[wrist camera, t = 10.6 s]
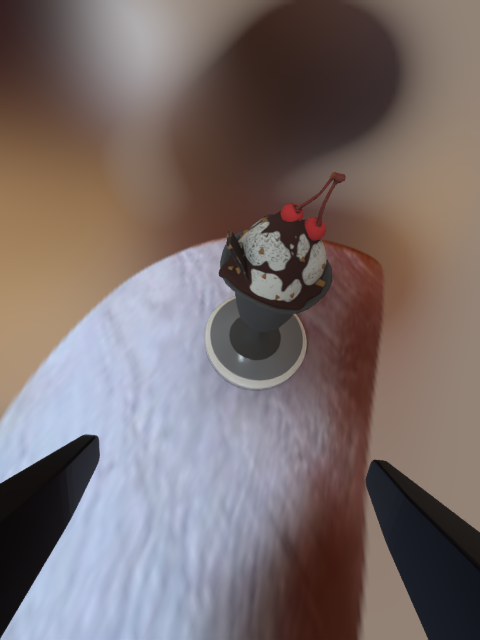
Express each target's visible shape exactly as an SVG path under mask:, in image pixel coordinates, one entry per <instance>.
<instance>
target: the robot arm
mask: <svg viewBox="0 0 480 640" xmlns="http://www.w3.org/2000/svg"><path fill="white" fill-rule="evenodd" d="M99 458H100V451H99V438H98V436H96V435H87V434H86V435H82V436H80V437H79V438H77V439H75V440H74V441H72V442H70V443H69V444H67V445H65V446H63V447H62V448H60V449H58V450H57V451H55V452H53V453H51V454H50V455H48V456H46V457H45V458H43V459H41V460H40V461H38V462H36V463H34V464H33V465H31V466H29V467H28V468H26V469H24V470H23V471H21V472H19V473H17V474H16V475H14V476H12V477H11V478H9V479H7V480H6V481H4V482H2V483H0V638H1V637H2V635H3V633H4V632H5V630H6V628H7V626H8V625H9V623H10V621H11V620H12V618H13V616H14V615H15V613H16V611H17V610H18V608H19V606H20V605H21V603H22V601H23V599H24V598H25V596H26V594H27V593H28V591H29V589H30V588H31V586H32V584H33V583H34V581H35V579H36V578H37V576H38V574H39V572H40V571H41V569H42V567H43V566H44V564H45V562H46V561H47V559H48V557H49V556H50V554H51V552H52V551H53V549H54V547H55V545H56V544H57V542H58V540H59V539H60V537H61V535H62V534H63V532H64V530H65V529H66V527H67V525H68V523H69V522H70V520H71V518H72V516H73V514H74V512H75V510H76V508H77V506H78V504H79V502H80V500H81V498H82V496H83V494H84V491H85V489H86V487H87V485H88V483H89V481H90V479H91V477H92V475H93V473H94V471H95V469H96V467H97V464H98V462H99ZM366 486H367V490H368V493H369V495H370V498H371V501H372V504H373V507H374V510H375V512H376V515H377V518H378V521H379V524H380V527H381V530H382V532H383V535H384V538H385V541H386V543H387V545H388V548H389V551H390V553H391V555H392V557H393V560H394V562H395V564H396V567H397V569H398V571H399V573H400V576H401V578H402V580H403V582H404V585H405V587H406V589H407V592H408V594H409V596H410V598H411V601H412V603H413V605H414V608H415V610H416V612H417V614H418V617H419V619H420V621H421V624H422V626H423V628H424V631H425V633H426V635H427V637H428V640H480V532H478V531H477V530H476V529H475V528H473V527H472V526H471V525H469V524H468V523H467V522H465V521H464V520H463V519H461V518H460V517H459V516H457V515H456V514H455V513H454V512H452V511H451V510H449V509H448V508H447V507H445V506H444V505H443V504H442V503H440V502H439V501H438V500H436V499H435V498H434V497H433V496H431V495H430V494H429V493H427V492H426V491H425V490H423V489H422V488H421V487H419V486H418V485H417V484H416V483H414V482H413V481H412V480H410V479H409V478H408V477H406V476H405V475H404V474H402V473H401V472H400V471H399V470H397V469H396V468H394V467H393V466H392V465H391V464H389V463H388V462H386V461H383V460H373V461H372V462H371V464H370V467H369V470H368V473H367V476H366Z"/></svg>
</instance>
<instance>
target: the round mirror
mask: <svg viewBox="0 0 480 640" xmlns="http://www.w3.org/2000/svg"><path fill="white" fill-rule="evenodd" d="M239 317H240V315H239V311H238V308H237V304H236V296H234V297H232V298H229V299H228V300H226V301H224V302H223V303H221V304H220V305H219V306H218V307H217V308H216V309H215V310H214V312H213V313H212V314H211V316H210V318H209V320H208V323H207V326H206V331H205V342H206V350H207V355H208V358H209V360H210V362H211V364H212V366H213V368H214V369H215V370H216V372H217V373H218V374H219V375H220V376H221V377H222V378H223V379H225V380H226V381H227V382H229V383H231V384H232V385H235V386H237V387H239V388H243V389H247V390H258V391H259V390H267V389H271V388H274V387H276V386H279V385H280V384H282V383H284V382H285V381H286V380H288V379H289V378H290V377H291V376H292V375H293V373H294V372H295V371H296V370H297V369H298V368H299V366H300V365H301V363H302V361H303V359H304V356H305V353H306V347H307V340H306V333H305V330H304V327H303V325H302V322H301V321H300V319H299V317H298V316H297V315H296V314H293V316H292V317H291V318H290V319H289V320H288V321H287V322H285V323H284V324H283V325H282V326H281V327H279V328H278V329H279V331H280V335H281V341H280V345H279V348H278V349H277V351H276V352H275V353H274V354H273V355H272V356H270V357H268V358H266V359H262V360H251V359H247V358H245V357H243V356H241V355H240V354H238V353H237V352H236V351H235V349H234V348H233V346H232V345H231V342H230V337H229V333H230V328H231V326H232V324H233V323H234V322H235V320H236V319H238V318H239Z"/></svg>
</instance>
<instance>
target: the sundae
mask: <svg viewBox="0 0 480 640" xmlns="http://www.w3.org/2000/svg"><path fill="white" fill-rule="evenodd" d="M332 180H334V182H333V185H332V187H331V189H330V190H329V192H328V194H327V196H326V198H325V200H324V202H323V204H322V207H321V210H320V212H319V216H318V218H309V219H307V220H302V217H303V211H302V209H301V208H303V207H304V206H305V205H307V204H309V203H310V202H312V201H313V200H315V199H316V198H317V197H318V196H319V195H320V194H321V193H322V192H323V191H324V190H325V189H326V187H327V186H328V185H329V184H330V182H331V181H332ZM342 181H345V175H344V174H339V173H336V172H334V173H332V174H331V176H330V179H329V181H328V182H327V184H326V185H325V186H324V187H323V189H322V190H321V191H320V193H318V194H317V195H316V196H314V197H313V198H311V199H310V200H308V201H306V202H305V203H303V204H301V205H297V204H295V203H288V204H286V205H285V206H284V208H283V209H282V210H281V211H280V212H278V213H275V214H270V215H267V216H265V217H263V218H262V219H261V220H259V221H258V222H257V223H256V224H254V225H253V226H252V227H251V228H250V229H248V230H244V231H241V232H239V233H236V234H235V235H234V234H233V232H232V231H229V232H228V234H227V242H226V245H225V247H224V250H223V253H222V256H221V261H220V270H219V276H220V277H222V278H223V279H224V281H225V283H226V284H227V285H228V286H229V287H230V288H231V289H232V290H233V291H234V292H235V296H236V304H237V308H238V311H239V315H240V317H239V318H238V319H236V320H235V322H234V323H233V324H232V326H231V328H230V333H229V337H230V342H231V345H232V346H233V348H234V349H235V351H236V352H237V353H238V354H240V355H241V356H243V357H245V358H247V359H251V360H262V359H266V358H268V357H270V356H272V355H273V354H274V353H275V352H276V351H277V349H278V348H279V345H280V341H281V335H280V331H279V329H278V328H279V327H281V326H282V325H283V324H284V323H285V322H287V321H288V320H289V319H290V318H291V317H292V316H293V314H297V313H300V312H302V311H305V310H307V309H309V308H310V307H311V306H313V305H314V304H316V303H317V302H318V301H319V300H320V299H321V298H323V297H324V295H325V294H326V292H327V291H328V289H329V287H330V285H331V283H332V269H331V267H330V264H329V262H328V260H327V259H326V251H325V247H324V244H323V243H322V241H321V238H322V237H323V236H324V235H325V232H326V227H325V224H324V223H323V222H322V221H321V219H322V214H323V211H324V208H325V205H326V202H327V200H328V198H329V196H330V194H331V192H332V190H333V188H334V187H335V185H336V184H338V183H341V182H342Z"/></svg>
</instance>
